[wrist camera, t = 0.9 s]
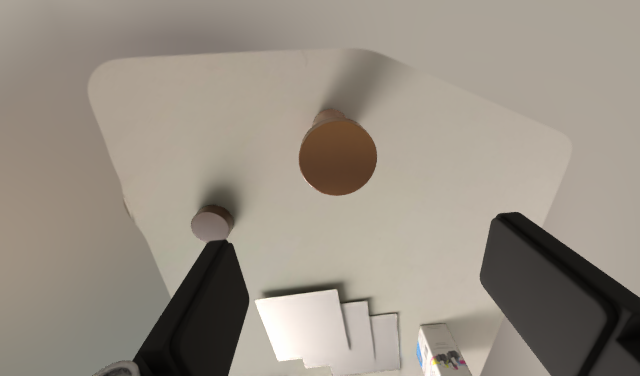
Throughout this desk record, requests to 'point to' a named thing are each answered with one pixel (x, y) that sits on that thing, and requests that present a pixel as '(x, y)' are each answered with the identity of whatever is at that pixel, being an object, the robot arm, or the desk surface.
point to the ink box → (439, 352)
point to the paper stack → (330, 333)
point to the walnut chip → (212, 223)
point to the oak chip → (337, 156)
